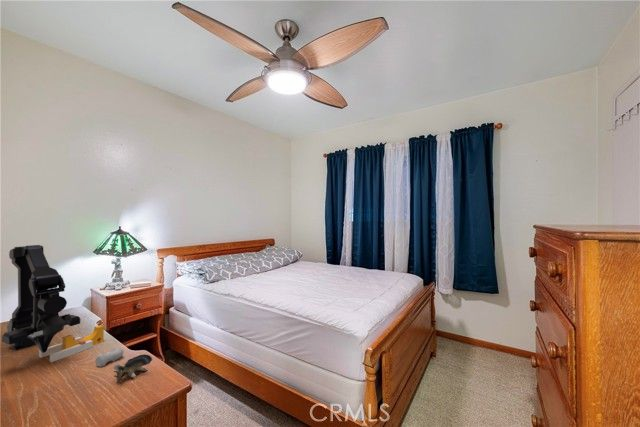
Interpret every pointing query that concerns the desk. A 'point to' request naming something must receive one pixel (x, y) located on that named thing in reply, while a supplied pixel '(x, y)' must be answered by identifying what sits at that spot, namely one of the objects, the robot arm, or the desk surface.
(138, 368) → the dark grey animal figurine
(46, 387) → the desk surface
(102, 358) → the smooth white sculpture
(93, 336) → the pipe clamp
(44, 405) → the desk surface
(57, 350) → the guide channel
